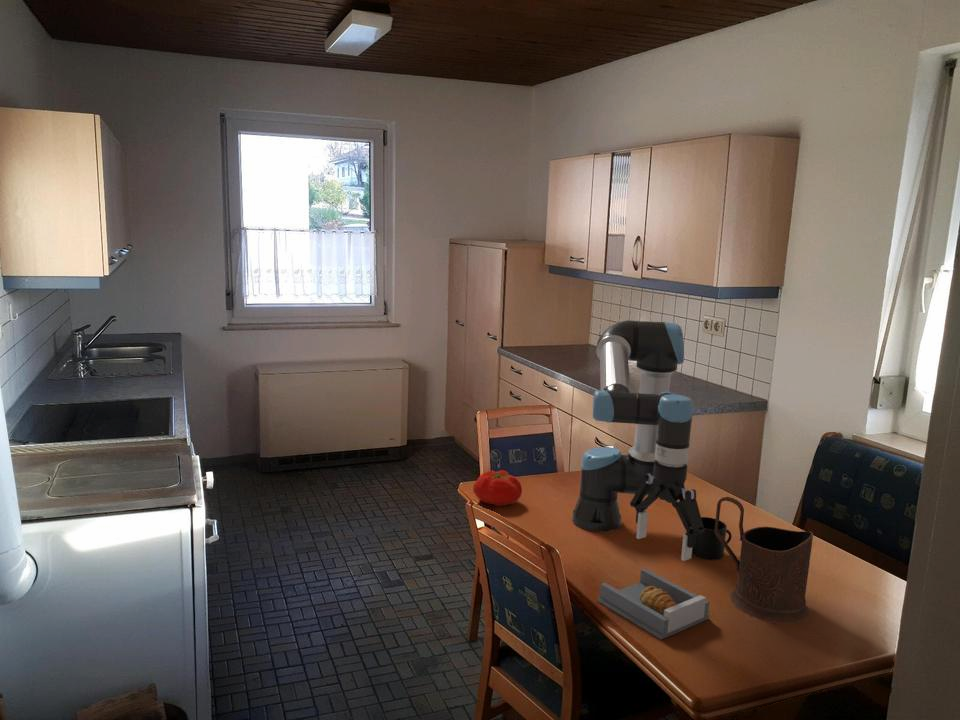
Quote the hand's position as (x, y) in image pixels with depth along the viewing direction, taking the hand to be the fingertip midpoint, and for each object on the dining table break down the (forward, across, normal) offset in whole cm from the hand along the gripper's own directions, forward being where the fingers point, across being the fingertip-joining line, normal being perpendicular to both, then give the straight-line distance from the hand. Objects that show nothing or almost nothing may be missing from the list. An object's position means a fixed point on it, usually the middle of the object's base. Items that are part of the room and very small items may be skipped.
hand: (662, 548), depth 174 cm
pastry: (+16, -1, +1) cm, 16 cm away
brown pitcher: (+17, +10, +26) cm, 33 cm away
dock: (+17, -1, 0) cm, 17 cm away
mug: (+17, -14, +39) cm, 45 cm away
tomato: (+17, -76, +9) cm, 79 cm away
